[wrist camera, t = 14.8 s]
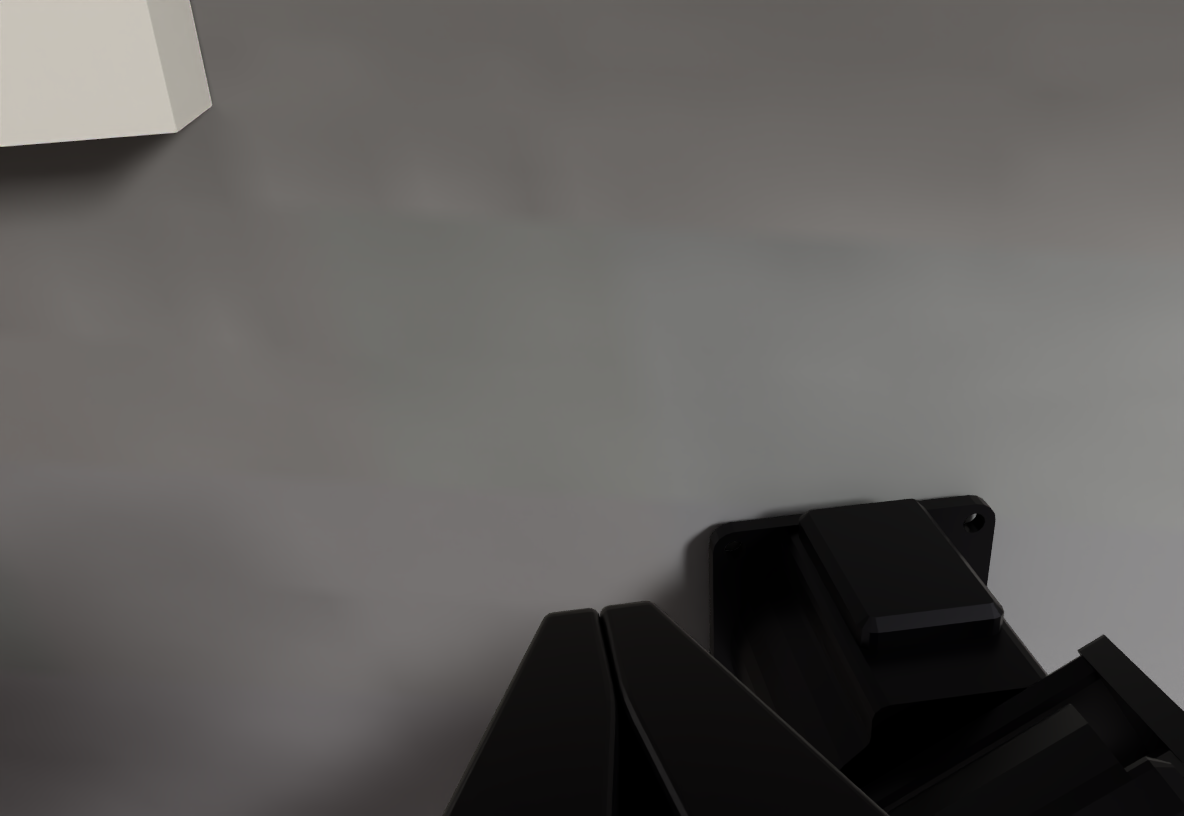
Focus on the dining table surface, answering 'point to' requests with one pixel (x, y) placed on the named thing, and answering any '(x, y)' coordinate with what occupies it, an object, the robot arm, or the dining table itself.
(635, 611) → the robot arm
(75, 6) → the socket plate
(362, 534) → the dining table surface
